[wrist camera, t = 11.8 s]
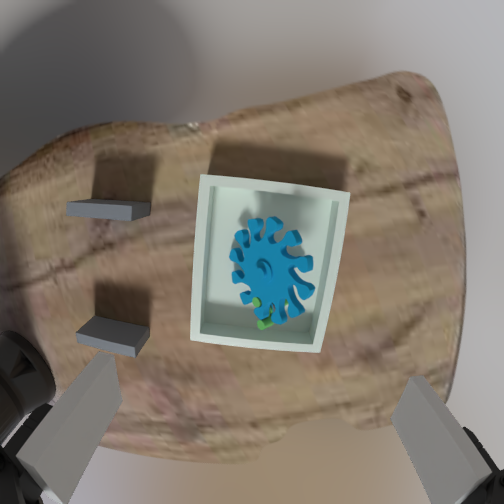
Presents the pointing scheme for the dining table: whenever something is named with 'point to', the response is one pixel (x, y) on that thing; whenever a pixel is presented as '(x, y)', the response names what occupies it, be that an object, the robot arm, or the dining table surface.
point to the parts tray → (221, 267)
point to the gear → (271, 272)
